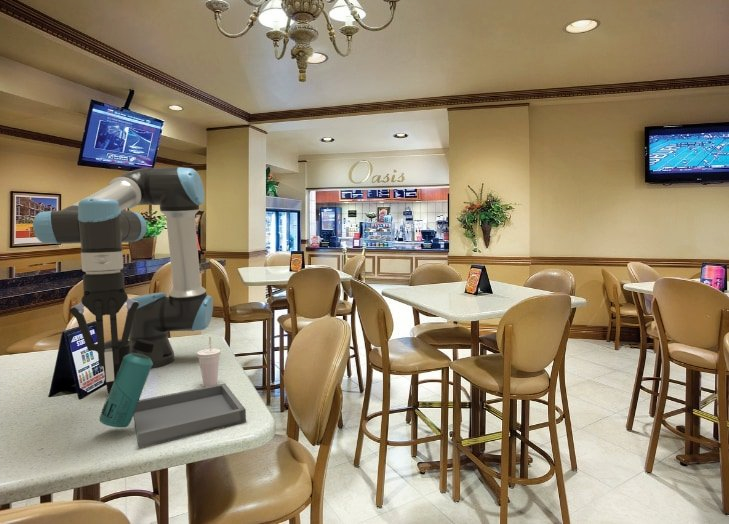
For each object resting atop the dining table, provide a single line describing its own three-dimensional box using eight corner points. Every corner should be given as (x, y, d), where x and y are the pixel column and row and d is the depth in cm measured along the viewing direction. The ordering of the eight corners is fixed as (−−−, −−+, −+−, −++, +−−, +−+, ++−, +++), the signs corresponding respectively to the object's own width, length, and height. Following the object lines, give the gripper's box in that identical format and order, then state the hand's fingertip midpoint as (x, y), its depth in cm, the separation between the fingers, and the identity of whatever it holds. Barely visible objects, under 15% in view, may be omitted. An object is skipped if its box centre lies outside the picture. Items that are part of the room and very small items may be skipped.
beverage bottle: (133, 430, 97) (166, 344, 100) (116, 437, 90) (152, 345, 93) (106, 421, 97) (140, 336, 100) (88, 427, 90) (124, 336, 93)
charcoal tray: (133, 413, 105) (133, 401, 104) (225, 394, 116) (225, 383, 116) (139, 448, 88) (138, 434, 87) (246, 421, 99) (245, 409, 99)
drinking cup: (109, 399, 113) (104, 325, 112) (97, 393, 118) (92, 322, 116) (138, 390, 119) (134, 320, 118) (126, 385, 124) (122, 317, 122)
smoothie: (214, 389, 120) (212, 340, 119) (193, 387, 121) (191, 339, 120) (226, 381, 126) (224, 334, 125) (206, 379, 127) (204, 333, 126)
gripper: (64, 275, 85) (72, 391, 86) (138, 271, 91) (145, 378, 93) (67, 272, 91) (75, 380, 93) (137, 268, 98) (142, 369, 99)
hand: (110, 379), depth 93 cm, fingers closed
